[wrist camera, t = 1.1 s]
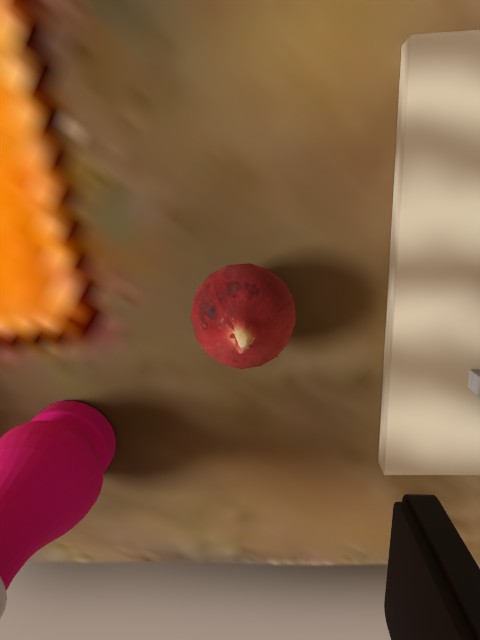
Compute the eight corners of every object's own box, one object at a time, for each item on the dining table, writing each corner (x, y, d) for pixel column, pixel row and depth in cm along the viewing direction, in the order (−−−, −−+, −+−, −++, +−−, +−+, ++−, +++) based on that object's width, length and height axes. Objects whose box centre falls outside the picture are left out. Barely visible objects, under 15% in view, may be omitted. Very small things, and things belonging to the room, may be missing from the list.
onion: (185, 308, 27) (153, 349, 19) (236, 237, 25) (225, 250, 18) (255, 359, 27) (251, 418, 20) (309, 293, 26) (328, 328, 18)
